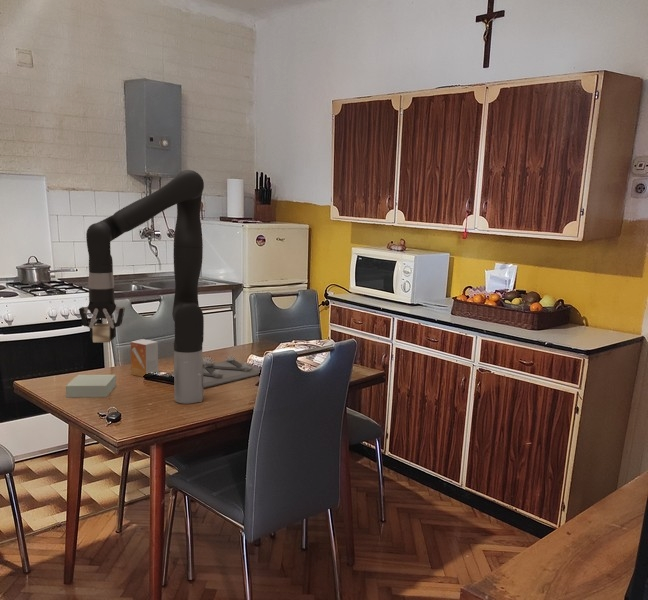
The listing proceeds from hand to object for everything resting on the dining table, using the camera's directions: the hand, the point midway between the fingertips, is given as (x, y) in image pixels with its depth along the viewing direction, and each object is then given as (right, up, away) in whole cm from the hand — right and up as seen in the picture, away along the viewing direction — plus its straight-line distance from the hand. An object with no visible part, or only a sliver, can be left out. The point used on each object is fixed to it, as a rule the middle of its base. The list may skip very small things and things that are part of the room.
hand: (103, 339), depth 185 cm
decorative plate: (+30, -17, +38) cm, 51 cm away
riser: (-10, -19, +15) cm, 26 cm away
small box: (+2, -16, +37) cm, 40 cm away
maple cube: (0, -1, 0) cm, 0 cm away
